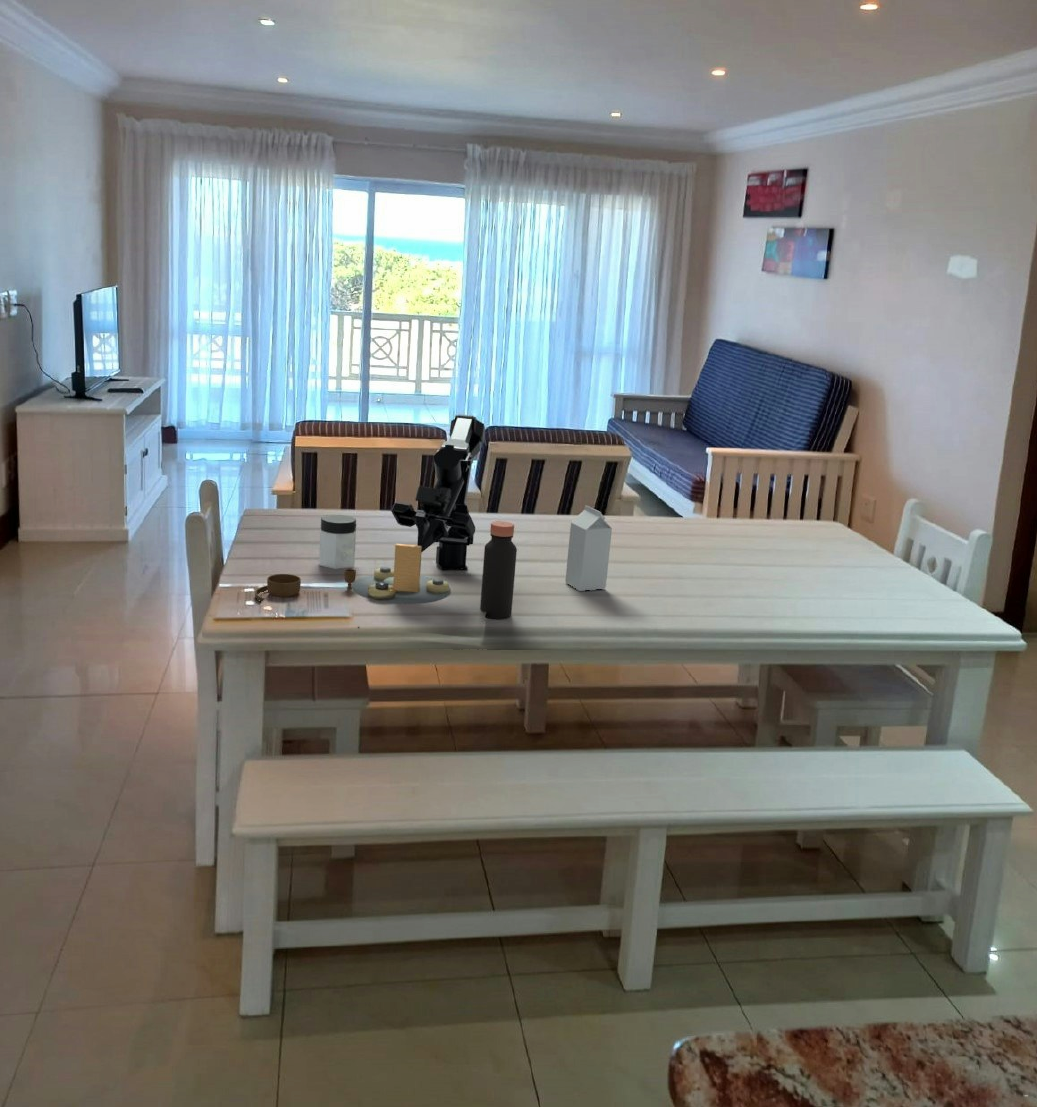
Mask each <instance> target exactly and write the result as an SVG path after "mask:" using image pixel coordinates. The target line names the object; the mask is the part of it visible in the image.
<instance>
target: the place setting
mask: <svg viewBox="0 0 1037 1107" xmlns="http://www.w3.org/2000/svg"><path fill="white" fill-rule="evenodd" d="M343 574H344V575H343V576H344V577H343V578H344V581H345V583H347V587H346V589H347V590H349V591H350V590H352V588H351V585H352V583H353V582H354V581H356V578H357V577H356V576H357V575H356V574H357V571H356V569H354V568H345V569H344V573H343ZM266 579H267V580H266V581H267V582H266V585H263V586H260V587H258V588H257V589H255V591H254V596H255V599H256V598H257V599H256V600H257V601H258V600H260V601H262V602H263V601H264V600H265V599H266V598H264V597H262V596H258V594H259V593H260V592H264V591H266V590H268V592H267V593H269V595H271V596H272V597H279V598H291V597H296V596H297V595H298V594H299V593H300V591H301V588H303V589H306V587H304V586H303V585H302V586H301V582H302V581H301V577H300V576H297V575H294V574H289V573H279V574H278V573H277V574H272V575H270V576H268V577H267V578H266ZM260 601H259V602H260Z"/></svg>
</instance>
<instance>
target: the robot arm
mask: <svg viewBox="0 0 1037 1107" xmlns="http://www.w3.org/2000/svg"><path fill="white" fill-rule="evenodd" d="M448 434H449V437H450V438H449V440H446V441H444V442H442V444H441V446H440V449H437V451H436V452H435V454H434V455H433V465H434V470H435V477H436V479H437V480H436V482H435V483H434V484H435V485H434V486H433V487H429V486H428V487H427V486H422V485H419V486H418V488H417V491H416V495H415V498H414V499H415V501H416V502H419V503H420V504H419V507H420V508H419V509H417V510H416V511H415V508H414V506H413V504H412V503H404V502H400V501H397V502H395V503H394V504H393V505H392V507H391V510H390V512H391V513H392V516H393V518H394V519H395V520H396V522H397V524H398V525H399V526H403V527H409V528H412V527H413V526H416V528H417V546H422V553H423V552H425V551H426V550H427V549H428V548H429V547H431V546H432V545H433V544H434V543H438V546H436V552H435V553H436V554H435V563H436V565H437V566H438V567H439V568H440V569H441V570H442V571H444V570H445V571H446V570H447V571H448V570H449V571H450V570H452V571H453V570H457V571H458V570H469V569H468V568H469V567H468V566H467V564H466V563H467V554H468V552H467V550H468V547H469V546H470V545H474V535H475V533H476V525H475V523H474V521H473V519H472V517H471V515H470V512H469V509H468V506H467V497H468V491H469V485H470V478H471V471H472V465H473V464H474V457H476V456H477V455H478V453H480V452H481V448H482V443H484V442H485V438H486V426H485V423H483V422H482V421H480V420H478V419H477V417H476V416H474V415H471V414H461V413H460V414H456V415H455V416H454V419H452V420H451V421H450V426H449V433H448ZM420 509H422V510H420Z"/></svg>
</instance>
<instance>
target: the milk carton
mask: <svg viewBox="0 0 1037 1107" xmlns="http://www.w3.org/2000/svg"><path fill="white" fill-rule="evenodd" d="M605 519H606V517H605V516H604V515H603V514H602V512H601V511H599V510H597V509H595V508H592V507H590V506H589V505H586V504H585V505H584V509H583V511H581V513H580V512H579V514H578V515H577V516H576V517H574V518H573V519H572V521H571V522H570V528H569V538H568V539H569V541H568V549H567V551H568V552H567V560H566V561H567V562H566V570H565V571H566V572H565V581H564V582H566V583H565V584H567V585H568V584H570V585H571V586H570V585H569V586H570V587H572V586H573V587H572V588H573V589H575V588H576V589H575V590H577V591H579V592H586V591H585V590H590V591H597V590H596V589H602V590H605V589H604V588H606V587H607V579H608V571H609V569H608V568H609V560H610V551H611V542H612V541H611V540H612V533H613V528H612V527H611V526H610V525H609V524H608V522H606V520H605Z"/></svg>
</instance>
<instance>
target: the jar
mask: <svg viewBox="0 0 1037 1107" xmlns="http://www.w3.org/2000/svg"><path fill="white" fill-rule="evenodd" d="M356 533H357V519H356V517H353V516H350V515H343V514H329V515H324V516H322V517H321V519H320V532H319V557H318V558H319V560H318V564H319V566H322V567H326V568H330V569H333V570H334V569H335V570H336V569H338V570H339V569H350V568H355V562H356V560H355V559H356V558H355V557H356V538H357V534H356Z"/></svg>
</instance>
